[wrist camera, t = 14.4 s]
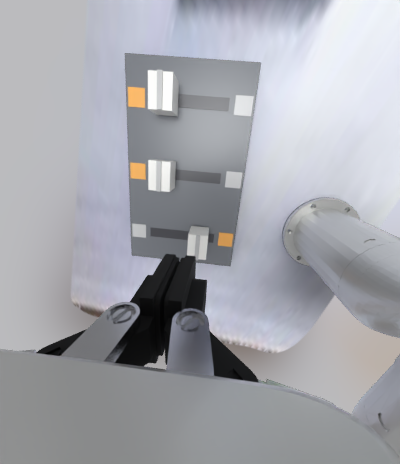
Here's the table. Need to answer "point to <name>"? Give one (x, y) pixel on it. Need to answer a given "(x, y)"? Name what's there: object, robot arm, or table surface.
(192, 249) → the back knob
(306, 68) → the table surface
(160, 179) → the middle knob
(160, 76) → the front knob
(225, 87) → the switch panel
